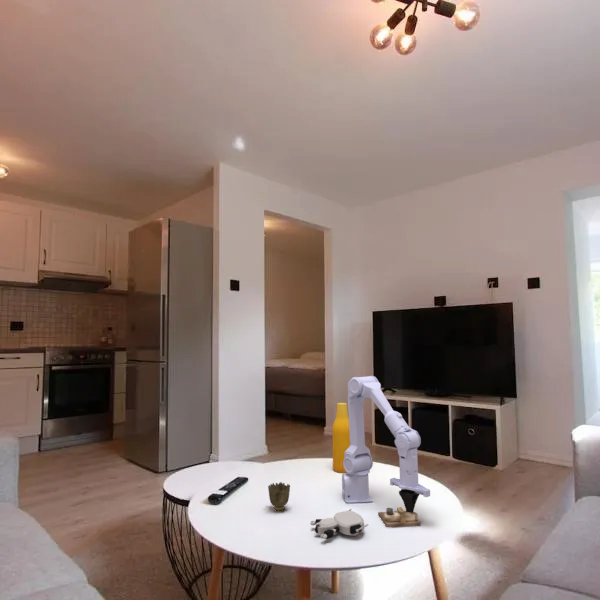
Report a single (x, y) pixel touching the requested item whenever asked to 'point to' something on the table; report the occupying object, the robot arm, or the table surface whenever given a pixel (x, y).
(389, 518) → the link
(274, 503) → the cup
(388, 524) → the board
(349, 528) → the robot toy
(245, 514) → the table surface
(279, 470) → the table surface
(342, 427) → the beer bottle
